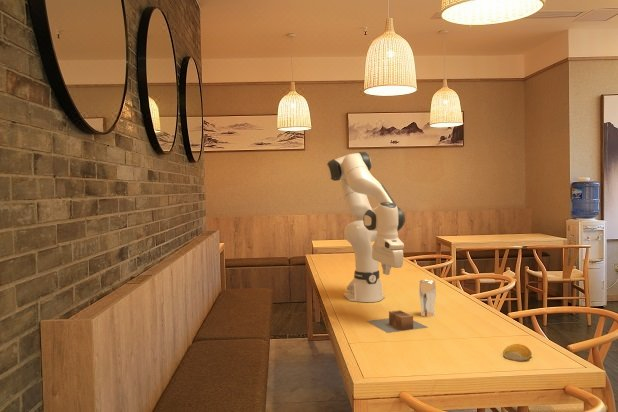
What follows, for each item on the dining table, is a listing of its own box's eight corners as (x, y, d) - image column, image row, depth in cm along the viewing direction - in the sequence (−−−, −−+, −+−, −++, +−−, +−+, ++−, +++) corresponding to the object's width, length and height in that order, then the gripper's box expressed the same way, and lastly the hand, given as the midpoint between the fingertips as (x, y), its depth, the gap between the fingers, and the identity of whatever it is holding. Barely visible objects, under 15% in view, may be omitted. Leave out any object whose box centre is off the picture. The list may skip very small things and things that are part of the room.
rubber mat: (366, 322, 210) (366, 321, 210) (404, 317, 216) (404, 316, 216) (387, 334, 193) (387, 332, 193) (428, 328, 199) (428, 327, 199)
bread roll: (533, 355, 167) (533, 343, 167) (526, 363, 160) (526, 350, 160) (507, 350, 172) (507, 339, 172) (499, 358, 165) (499, 346, 165)
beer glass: (424, 319, 213) (423, 283, 212) (416, 315, 220) (416, 280, 219) (439, 317, 215) (438, 282, 214) (431, 313, 222) (430, 279, 221)
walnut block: (388, 311, 205) (401, 317, 195) (399, 310, 206) (413, 316, 197) (389, 323, 205) (401, 330, 195) (400, 322, 207) (413, 328, 197)
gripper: (368, 238, 221) (367, 269, 223) (392, 245, 202) (391, 280, 204) (381, 237, 224) (380, 268, 225) (406, 245, 205) (405, 279, 206)
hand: (386, 274), depth 214 cm, fingers closed
